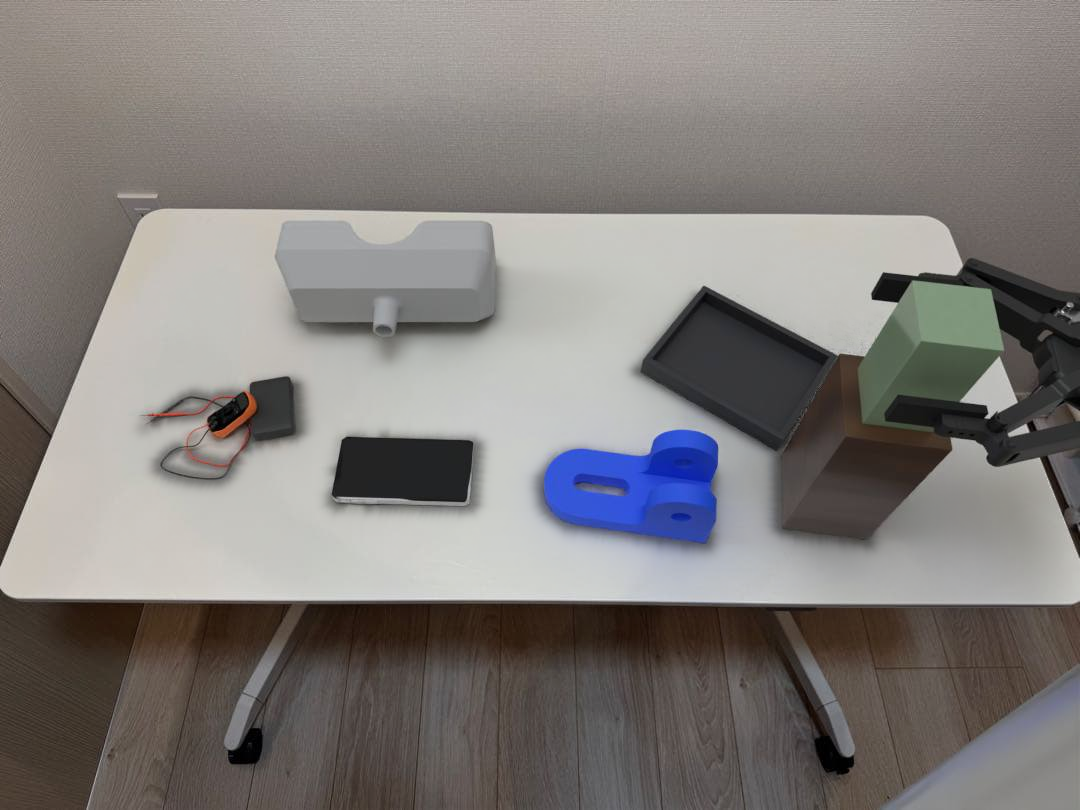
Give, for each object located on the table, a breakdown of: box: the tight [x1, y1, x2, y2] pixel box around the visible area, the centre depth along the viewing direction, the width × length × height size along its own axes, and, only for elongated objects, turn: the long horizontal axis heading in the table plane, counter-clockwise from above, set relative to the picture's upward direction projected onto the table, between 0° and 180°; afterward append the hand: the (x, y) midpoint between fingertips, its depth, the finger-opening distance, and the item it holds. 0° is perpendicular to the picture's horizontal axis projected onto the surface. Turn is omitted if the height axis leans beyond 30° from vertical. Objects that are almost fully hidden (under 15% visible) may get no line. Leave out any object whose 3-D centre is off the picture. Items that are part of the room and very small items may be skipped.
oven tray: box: [640, 285, 839, 451], centre depth 93 cm, size 15×19×3 cm
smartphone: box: [331, 436, 475, 507], centre depth 86 cm, size 8×1×15 cm
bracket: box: [543, 429, 719, 544], centre depth 81 cm, size 18×8×9 cm, turn 81°
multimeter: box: [138, 375, 296, 480], centre depth 87 cm, size 18×12×3 cm, turn 98°
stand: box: [780, 352, 953, 541], centre depth 77 cm, size 9×9×20 cm
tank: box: [274, 220, 497, 338], centre depth 93 cm, size 25×16×12 cm, turn 90°
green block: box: [858, 281, 1005, 432], centre depth 63 cm, size 6×6×12 cm
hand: (883, 343), depth 62 cm, fingers open, 12 cm apart
